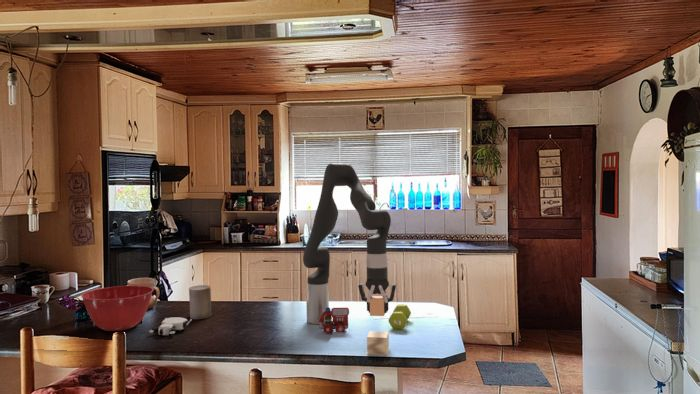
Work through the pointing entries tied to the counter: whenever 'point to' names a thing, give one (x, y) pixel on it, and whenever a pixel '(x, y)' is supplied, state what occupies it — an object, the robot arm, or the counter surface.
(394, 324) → the dumbbell
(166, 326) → the robot toy
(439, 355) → the counter surface
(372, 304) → the terracotta block
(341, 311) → the toy fire truck
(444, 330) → the counter surface
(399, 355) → the counter surface
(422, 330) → the counter surface
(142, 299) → the mixing bowl
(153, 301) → the ceramic jug
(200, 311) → the pillar candle
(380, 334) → the maple base block
